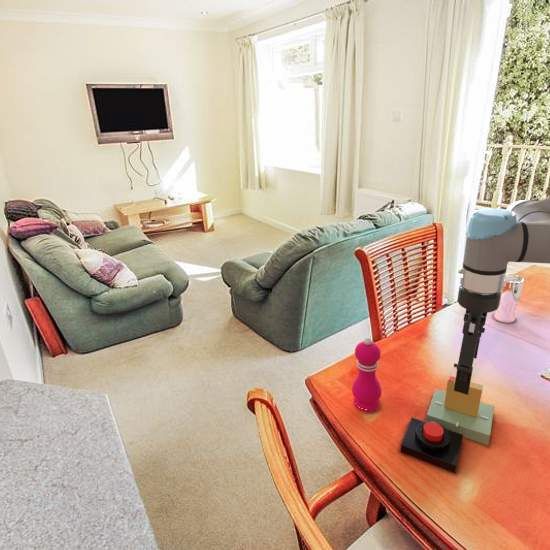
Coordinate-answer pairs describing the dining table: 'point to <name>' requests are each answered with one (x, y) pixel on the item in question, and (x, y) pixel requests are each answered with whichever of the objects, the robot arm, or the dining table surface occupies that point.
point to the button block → (432, 446)
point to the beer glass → (509, 298)
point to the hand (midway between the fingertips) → (465, 373)
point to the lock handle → (463, 398)
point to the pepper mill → (367, 376)
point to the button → (433, 432)
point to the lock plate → (462, 419)
